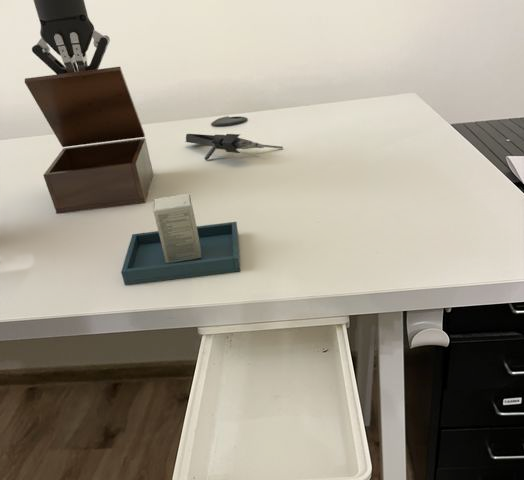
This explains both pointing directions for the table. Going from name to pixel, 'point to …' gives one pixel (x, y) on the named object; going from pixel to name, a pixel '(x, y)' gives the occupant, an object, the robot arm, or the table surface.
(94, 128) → the lid
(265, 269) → the table surface
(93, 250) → the table surface
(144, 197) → the chest
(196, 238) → the small box
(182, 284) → the table surface
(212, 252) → the tray
